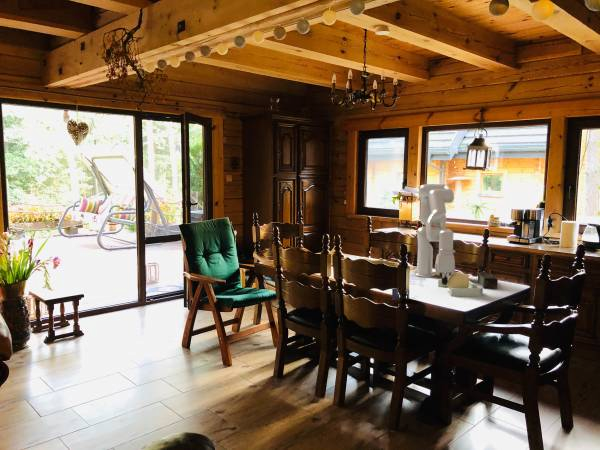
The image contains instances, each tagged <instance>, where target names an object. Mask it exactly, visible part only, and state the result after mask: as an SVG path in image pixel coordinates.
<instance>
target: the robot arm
mask: <svg viewBox="0 0 600 450" xmlns="http://www.w3.org/2000/svg"><path fill="white" fill-rule="evenodd" d="M418 197H419V200H420V211H419V213H420V214H419V216H420V217H419V218H420V219H419V222H420V223H421V224H422V225H425V226H420V227H418V229H417V231H416V238H417V262H416V263H417V265H416V268H417V269H416V271H415V272H414V276H415V277H423V278H431V277H435V275H439V276H440V277H441V279H442V284H443V285H447V283H448V278H449V276H450V275H453V274H455V273H456V262H455V256H454V255H455V254H454V253H456V250H455V249H454V231H453V230H451V229H450V228H448V227H447V224H446V223H447V215H446V214H447V209H446V204H451V203H453V202H454V201H455V200H454V199H455V194H454V192H453V189H452V188H451V187H450V186H448V184H445V183H444V184H442V183H439V184H438V183H437V184H436V183H425V184H422V185H420V186H419V188H418ZM430 242H438V253H437V254H436V257H435V264H434V270H435V272H433V259H434V248H433V246H432V244H431V243H430Z"/></svg>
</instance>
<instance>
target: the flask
mask: <svg viewBox="0 0 600 450" xmlns="http://www.w3.org/2000/svg"><path fill="white" fill-rule="evenodd" d="M391 290H392V291H391V300H394V301H400V298H399V294H398V291H397V289H392V288H391ZM409 299H410V290H409V291H408V294H407V298H406V300H409ZM406 300H405V301H406Z"/></svg>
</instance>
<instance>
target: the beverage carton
mask: <svg viewBox="0 0 600 450" xmlns="http://www.w3.org/2000/svg"><path fill="white" fill-rule="evenodd" d="M498 281H499V280H498V278H497V277H496V276H494V275H493V274H492V273H491V272H484V271H480V272H478V273H477V282H478V284H479V285H480V286H481V288H482V289H488V290H497V289H498V283H499V282H498Z"/></svg>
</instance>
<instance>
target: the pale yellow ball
mask: <svg viewBox="0 0 600 450" xmlns="http://www.w3.org/2000/svg"><path fill="white" fill-rule="evenodd" d="M469 277H470V275H468V274H466V273H465V272H461V271H457V272H456V271H455V274H453V275H450V276H449V278H448V287H447V288H448V289H449V291H451V288H468V287H469V281H470V279H469Z"/></svg>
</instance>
